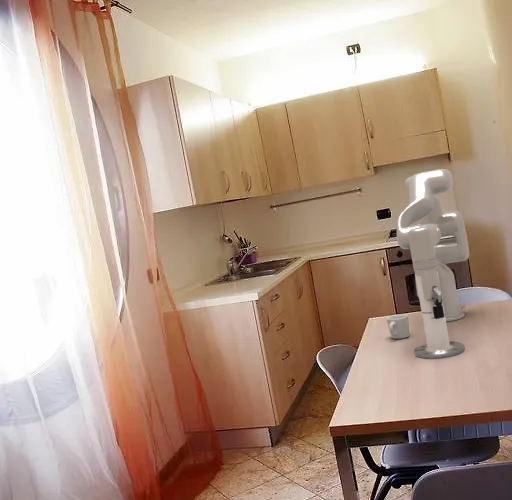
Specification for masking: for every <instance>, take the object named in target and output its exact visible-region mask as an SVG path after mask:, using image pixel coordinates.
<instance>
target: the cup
mask: <svg viewBox="0 0 512 500" xmlns="http://www.w3.org/2000/svg"><path fill="white" fill-rule="evenodd" d="M386 323H387V326H388V329H389V334H390V336H391V338H392V339H395V340H401V339H406V338H408V337H409V335H410V328H409V326H410V324H409V323H410V322H409V316H408V314H405V313H403V314H402V313H401V314H393V315H390V316H387V317H386Z"/></svg>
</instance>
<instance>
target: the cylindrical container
mask: <svg viewBox="0 0 512 500" xmlns="http://www.w3.org/2000/svg"><path fill="white" fill-rule="evenodd" d="M437 275H438V272H437ZM414 276H416V281H415V283H416V282H417V288H418V294H419V297H418V299H419V304H420V310H421V316H422V322H423V329H424V335H425V340H426V344H427V347H428V350H431V351H440V350H445V349H448V348H450V342H449V341H450V337H449V331H448V325H447V321H446V319H445V313H444V318H439V319H435V318H434V313H433V307H434V306H433V304H432V302H431V299H430V300H429V301H426V300H424V294H423V288H422V281H421V276H419V275H415V274H414ZM438 279H439V277H438ZM432 297H437V296H435V293H434V292H433V296H432ZM434 301H436V300H434ZM442 303H443V301H442ZM443 311H444V307H443Z"/></svg>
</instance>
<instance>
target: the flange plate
mask: <svg viewBox="0 0 512 500" xmlns="http://www.w3.org/2000/svg"><path fill="white" fill-rule="evenodd" d="M449 342H450V348H448V349H445V350H440V351H431V350H428V347H427V343H424V344H422V345H419V346H418V347H416V348H415V349H414V351H413V352H414V356H415V357H416V358H419V359H425V360H434V359H435V360H436V359H437V360H439V359H446V358H450V357H455V356H458V355H460V354H462V353H464V352H465V351H466V350H465V349H466V348H465V344H464V343H463V342H459V341H450V340H449Z"/></svg>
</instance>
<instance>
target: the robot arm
mask: <svg viewBox="0 0 512 500" xmlns="http://www.w3.org/2000/svg"><path fill="white" fill-rule="evenodd" d="M404 183H405V185H404V186H405V188H406V191H407V192H408V201H409V202H408V203H409V204H408V205H407V206H406V207H405V208H404V210H402V212H401V213H400V215H399V216H398V217H397V220H396V221H397V222H396V241H397V244H398V246H399V247H400V248H401V249H403V250H410V255H411V261H412V266H413V267H412V268H413V271H414V276H415V275H419V276H421V281H422V288H423V294H424V300H426V301H429V300H430V299H431V302H432V304H433V306H434V307H433V313H434V318H435V319H439V318H444V313H445V319H446V322H452V321H457V320H461V319H464V317H465V313H464V312H462V310H464V309H465V308H466V307H467V306H466V304H465V303H463V302H462V303H461V304H460V303H459V299H458V298H459V297H458V291H457V287H456V286H457V285H456V279H455V274H454V272H453V270H452V269H451V268H450V267H448V266H447V264H450V263H452V264H453V263H459V262H464V261H467V260H468V259H469V257H470V249H469V248H470V247H469V242H468V235H467V231H466V224H465V221H464V218H463V215H462V213H461V212H460V211H458V210H448V211H443V210H442V206H441V200H440V199H439V197H438V196H437V194H439V195H440V194H444V193H450V192H451V191H452V190H453V188H454V178H453V174H452V173H451V171H450V170H448V169H446V168H439V169H433V170H429V171H428V170H427V171H421V172H417V173H414V174H413V175H412V176H409V177H408V178H406V179H405V182H404ZM417 221H420V224H417V225H412V224H414V223H416V222H417ZM450 236H452V238H445V237H450ZM442 238H444V239H442ZM437 272H438V275H437ZM438 277H439V279H438ZM414 278H415V288H416V295H417V297H418V298H419V294H418V288H417V282H416V276H415V277H414ZM433 292H434V293H435V296H437V297H432V296H433ZM434 300H436V301H434ZM442 301H443V303H442ZM443 307H444V311H443Z"/></svg>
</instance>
